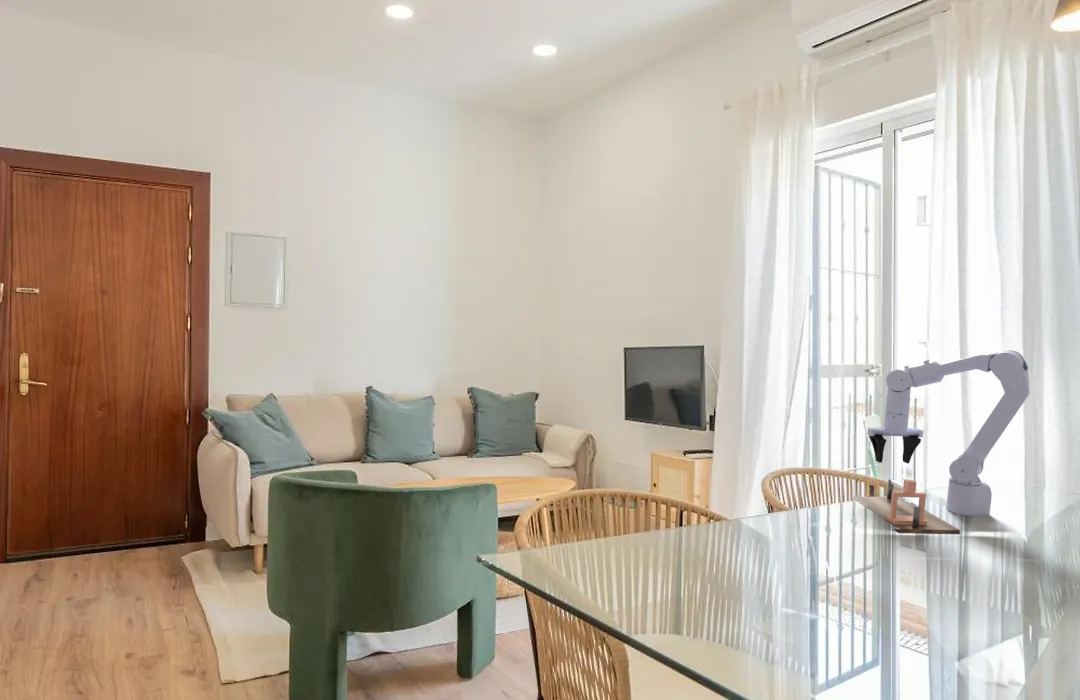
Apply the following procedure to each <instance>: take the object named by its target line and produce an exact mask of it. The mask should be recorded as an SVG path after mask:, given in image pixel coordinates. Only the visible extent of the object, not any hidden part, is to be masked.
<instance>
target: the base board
mask: <svg viewBox="0 0 1080 700" xmlns="http://www.w3.org/2000/svg"><path fill="white" fill-rule="evenodd" d="M850 498H852V499H853V500H854V501H856V502H858V503H859V504H860V505H862V506H864V507H865V508H866V509H868V510H869V511H871V512H872V513H874V514H876V515H877V516H879V517H880V518H881V519H883V520H884V521H886V522H888V523H889V524H891V525H892V526H893V527H896V528H893V530H894V531H895V532H896V533H898V534H928V535H931V534H932V535H961V529H960V528H957V527H956V526H953V525H952V524H950V523H949V522H947V521H946V520H944V519H941V518H940V517H938V516H936V515H934V514H933V513H931V512H930V511H929V510H926V509H925V510H924V520H926V521H927V525H919V529H914V528H912V525H894V524H893V523H891V522H890V521H888V520H887V519H886V515H890V507H891V499H887V496H886V497H885V496H880V497H879V496H850ZM905 499H906V500H908V501H910V500H909V499H907V498H905ZM912 503H913V504H915V503H914V502H912ZM915 505H917V504H915ZM913 514H914V509H913V508H911V507H910V506H908V505H906V504H904V503H903V502H901V501H899V500H897V510H896V515H907V516H913Z"/></svg>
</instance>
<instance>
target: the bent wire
mask: <svg viewBox="0 0 1080 700" xmlns="http://www.w3.org/2000/svg"><path fill="white" fill-rule="evenodd" d="M887 482H888V483H887V493H886V497H887V499H891V497H892V492H894V489H895V488H894V486H895V487H897V488H899V489H901V491H900V492H903V485H904V484H901V483H899V482H898V481H896V480H895V479H893V478H888V481H887ZM906 499H907V498H906V497H898V500H899V501H901V502H903V503H904V504H906V505H908V506H910V507H911V508H913V509H914V514H913V524H912V528H914V529H919V520H920V510H921V507H919V505H917V504H916V505H915V503H914V502H912V501H910V500H909V499H907V500H906ZM908 500H909V501H908ZM913 503H914V504H913Z"/></svg>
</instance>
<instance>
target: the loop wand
mask: <svg viewBox="0 0 1080 700" xmlns="http://www.w3.org/2000/svg"><path fill="white" fill-rule="evenodd" d="M902 485H903V492H901V491H893V492H892V497H891V507H890V515H886V519H887V520H888V521H890V522H891V523H893V524H894V525H912V524H913V516H907V515H896V510H897V500H898V497H903V498H919V499H918V506H919V507H921V510H920V520H919V525H927V521H926V520H924V510H926V509H925V507H926V500H927V499H926V497H927V493H926V492H922V491H921V492H919V491H917V481H915V480H913V479H908V478H907V479H905V478H904V479H903V484H902ZM888 521H887V522H888ZM891 523H890V524H891ZM894 525H893V526H894Z"/></svg>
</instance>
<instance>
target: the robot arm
mask: <svg viewBox="0 0 1080 700" xmlns="http://www.w3.org/2000/svg"><path fill="white" fill-rule="evenodd" d="M974 370H979V371H983V372H985V373H990V372H992V374H993V375H994V376H995V377H996V378H997V379H998V381H999V382H1000V384H1001V386H1002V389H1003V392H1004V393H1003V395H1002V397H1001V398H1000V399H999V400H998V403H997V404H996V406H995V407H994V409H992V411H991V412H990V413H989V416H988V417H987V418H986V420H985V422H984V423H983V424H982V426H981V428H980V429H979V431H978V432H977V434H975V436H974V438H973V439H972V441H971V442H970V444H969V445H968V447H967V448H966V449H965V451H964V452H963V453H962V454H960V455H959V456H958V457H957V458H956V459H955V460H953V461H952V462H951V464H950V465H949V468H948V469H949V470H948V472H949V474H950V476H949V478H948V488H947V498H946V506H945V507H946V508H945V509H946V510H947V511H949V512H951V513H953V514H958V515H963V516H989V515H990V514H991V504H992V494H993V493H992V490H991V487H990V486H989V484H988V483H986V482H985V481H982V480H981V479H980V477H979V476H980V474H982V472H983V471H984V462H985V461H986V458H987V457H988V456H989V454H990V452H991V450H992V449H993V448H994V446H995V444H997V442H998V440H999V439H1000V438H1001V437H1002V434H1003V433H1004V432H1005V430H1006V428H1007V427H1008V426H1009V424H1010V423H1011V422H1012V420H1013V419H1014V417H1015V416H1016V414H1018V411H1019V410H1020V408H1022V405H1023V404H1024V403H1025V401H1026V400H1027V399H1028V397H1029V395H1030V379H1029V365H1028V363H1027V362H1026V359H1025V357H1024V356H1023V355H1022V354H1021V353H1020V352H1018V351H1016V350H1012V349H1010V350H1004V351H1002V352H999V351H994V352H986V353H979V354H976V355H971V356H968V357H964V358H960V359H956V360H952V361H949V362H945V363H939V362H938V361H936V360H931V361H930V359H926V360H923V361H922V363H919V364H915V365H911V366H910V365H909V364H907V365H904V368H897V369H895V370H892V371H890V372H889V373H888V374H887V375H886V378H885V382H886V385H887V394H886V401H885V402H886V403H885V414H884V422H883V423H884V425H883V426H877V427H875V426H874V427H867V433H866V434H867V435H868V438H869V440H870V442H871V445H872V448H873V452H874V457H875V462H878V463H879V464H881V463H882V464H883V460H884V451H885V446H886V443H887V439H886V438H884V437H902V446H903V449H902V450H903V452H902V462H903V463H905V464H910V461H911V459H912V456H913V454H914V452H915V450H916V449H917V447H918V446H919V445H920V444H921V442H922V439H921V438H923V437H924V430H923V429H920V428H910V427H908V425H909V415H910V406H911V405H910V404H911V391H912V389H911V388H918V387H919V388H920V387H924V386H927V385H932V384H937V383H941V382H942V380H943V379H944V377H945V376H949V375H954V374H959V373H964V372H969V371H974Z"/></svg>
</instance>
